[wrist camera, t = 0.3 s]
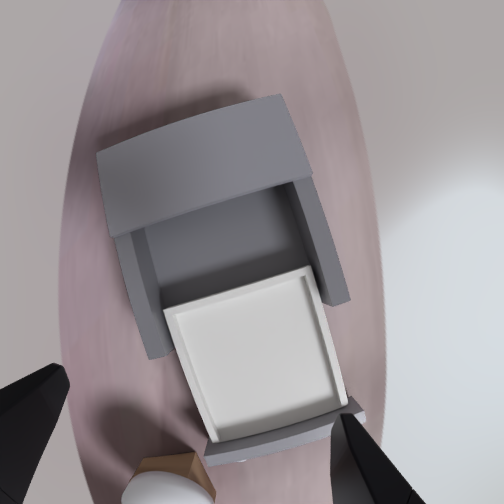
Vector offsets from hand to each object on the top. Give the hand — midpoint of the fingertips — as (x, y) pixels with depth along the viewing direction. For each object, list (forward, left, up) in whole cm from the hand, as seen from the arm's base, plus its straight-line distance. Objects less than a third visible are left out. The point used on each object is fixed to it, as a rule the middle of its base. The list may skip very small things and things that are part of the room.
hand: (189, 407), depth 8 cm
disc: (-12, +8, -10) cm, 17 cm away
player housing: (+7, -2, -14) cm, 15 cm away
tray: (-3, -2, -13) cm, 14 cm away
